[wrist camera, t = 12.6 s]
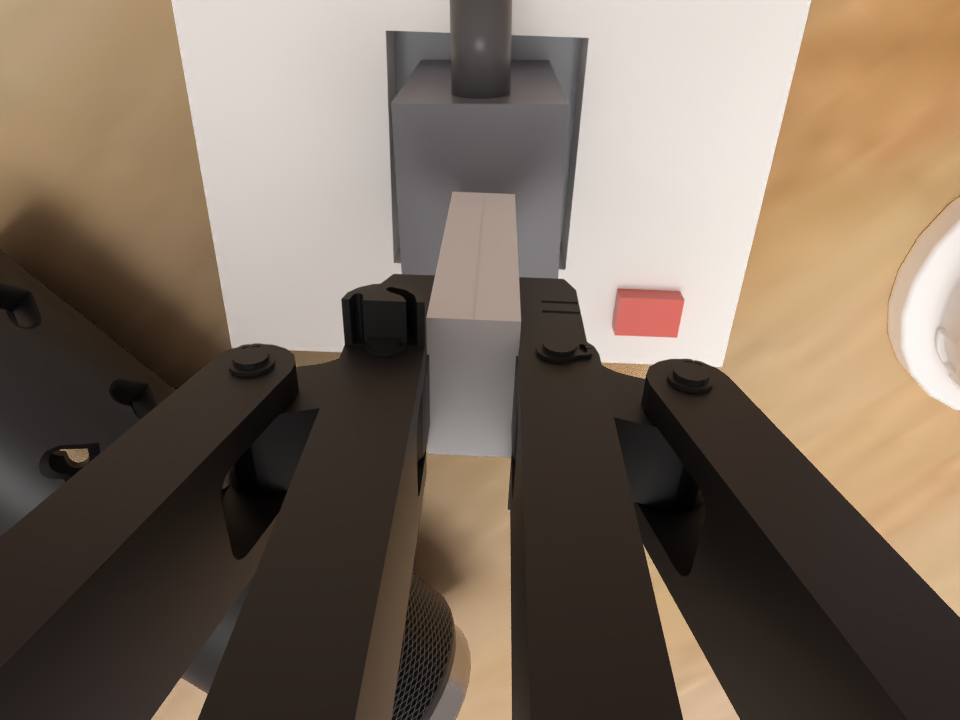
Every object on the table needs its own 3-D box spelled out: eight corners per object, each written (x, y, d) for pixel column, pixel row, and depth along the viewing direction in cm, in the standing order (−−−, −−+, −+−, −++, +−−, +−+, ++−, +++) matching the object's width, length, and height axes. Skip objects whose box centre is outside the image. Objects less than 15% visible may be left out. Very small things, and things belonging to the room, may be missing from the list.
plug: (541, 224, 28) (555, 316, 21) (427, 223, 28) (404, 314, 21) (552, -18, 23) (575, -3, 16) (417, -18, 23) (383, -3, 16)
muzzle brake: (37, 186, 28) (-179, 298, 19) (486, 570, 38) (482, 758, 30) (-78, 320, 31) (-308, 470, 22) (364, 640, 42) (328, 829, 33)
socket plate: (250, 319, 31) (225, 357, 28) (182, -122, 22) (136, -133, 20) (706, 337, 30) (727, 377, 28) (804, -100, 22) (848, -107, 20)
